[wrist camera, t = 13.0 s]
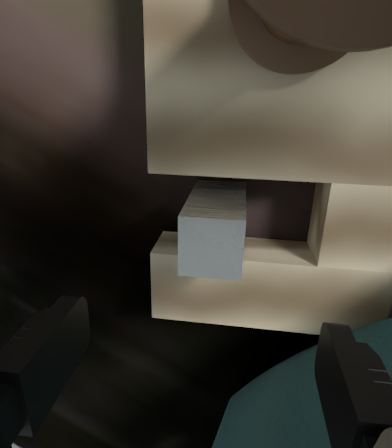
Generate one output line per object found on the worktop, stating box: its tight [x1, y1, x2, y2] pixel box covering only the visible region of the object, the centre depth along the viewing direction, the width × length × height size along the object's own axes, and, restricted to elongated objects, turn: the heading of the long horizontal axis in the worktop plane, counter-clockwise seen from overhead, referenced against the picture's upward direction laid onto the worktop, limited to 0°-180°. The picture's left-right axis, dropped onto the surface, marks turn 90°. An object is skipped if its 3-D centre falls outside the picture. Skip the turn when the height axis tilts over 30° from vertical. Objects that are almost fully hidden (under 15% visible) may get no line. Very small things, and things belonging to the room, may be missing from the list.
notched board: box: [143, 0, 392, 335], centre depth 21 cm, size 28×16×4 cm, turn 179°
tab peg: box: [178, 180, 246, 281], centre depth 22 cm, size 4×4×8 cm
